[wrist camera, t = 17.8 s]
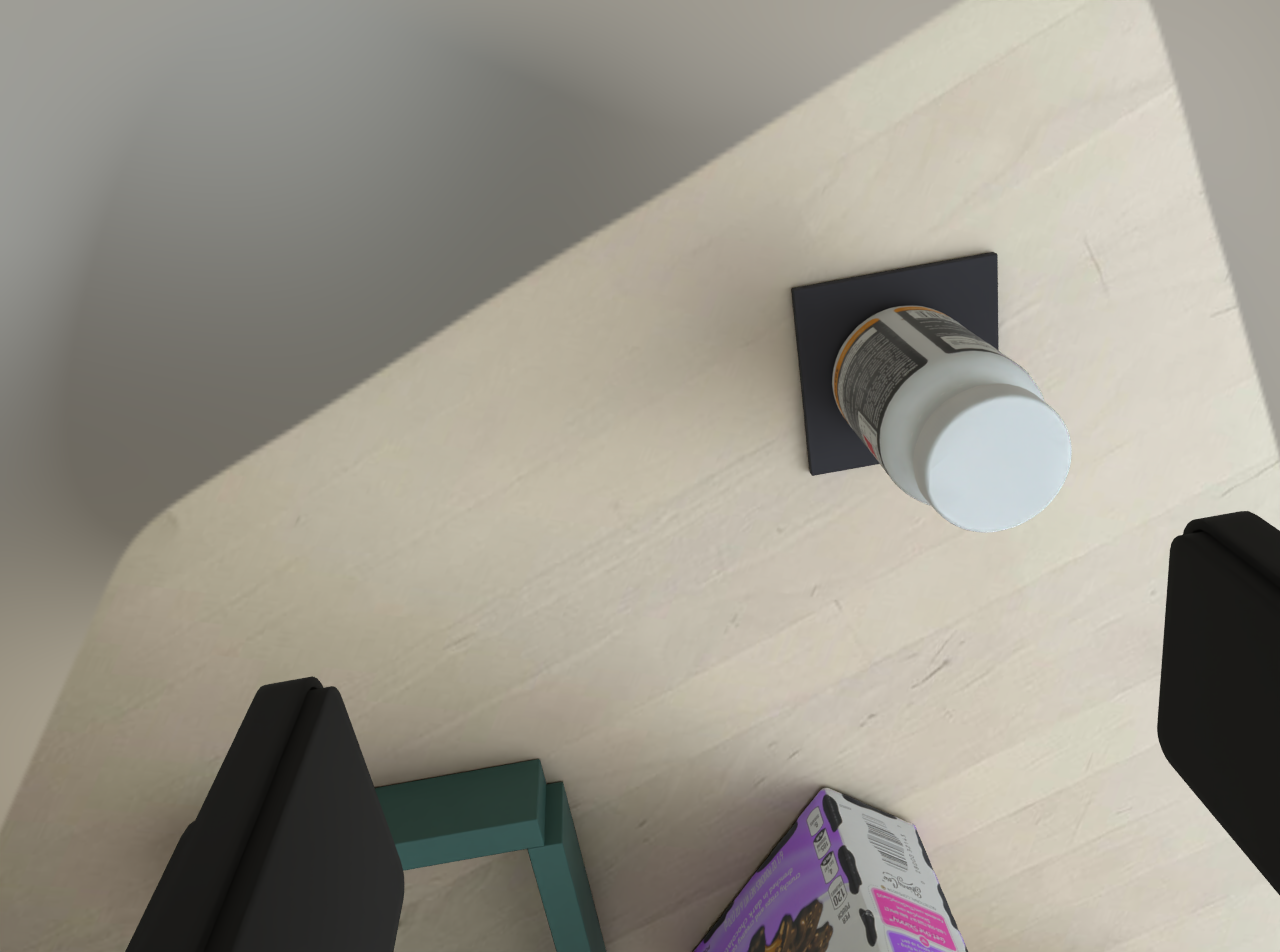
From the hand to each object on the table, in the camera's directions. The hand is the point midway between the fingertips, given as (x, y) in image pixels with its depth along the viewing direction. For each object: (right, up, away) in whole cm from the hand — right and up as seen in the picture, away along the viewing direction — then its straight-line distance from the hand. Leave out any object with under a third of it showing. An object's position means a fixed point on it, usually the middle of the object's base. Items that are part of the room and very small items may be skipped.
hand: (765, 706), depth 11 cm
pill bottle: (+9, +7, +28) cm, 31 cm away
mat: (+9, +7, +29) cm, 31 cm away
